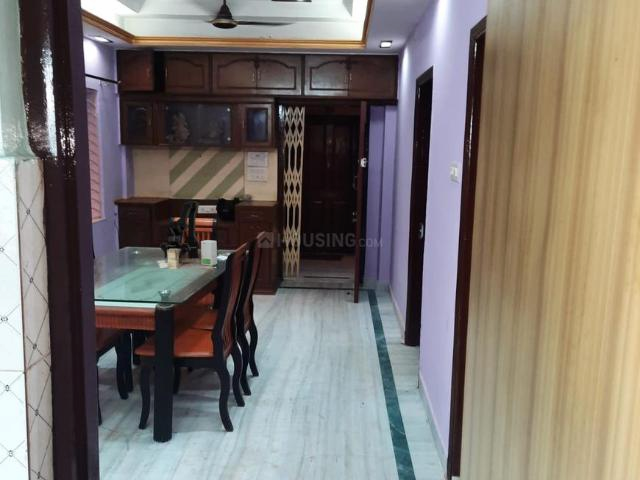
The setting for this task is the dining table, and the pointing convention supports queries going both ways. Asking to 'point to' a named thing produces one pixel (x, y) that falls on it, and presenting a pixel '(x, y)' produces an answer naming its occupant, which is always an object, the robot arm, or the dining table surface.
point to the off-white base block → (162, 263)
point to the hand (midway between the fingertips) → (172, 258)
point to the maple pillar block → (173, 258)
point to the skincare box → (209, 252)
